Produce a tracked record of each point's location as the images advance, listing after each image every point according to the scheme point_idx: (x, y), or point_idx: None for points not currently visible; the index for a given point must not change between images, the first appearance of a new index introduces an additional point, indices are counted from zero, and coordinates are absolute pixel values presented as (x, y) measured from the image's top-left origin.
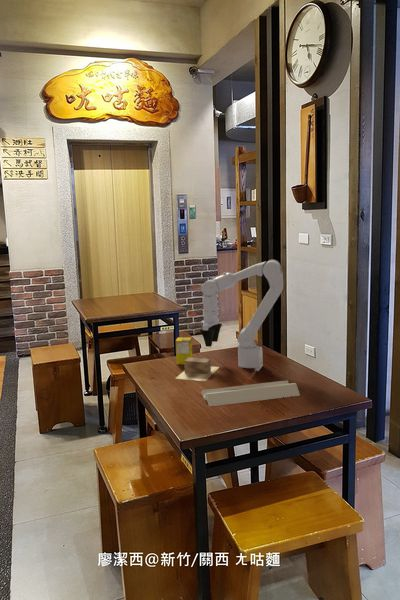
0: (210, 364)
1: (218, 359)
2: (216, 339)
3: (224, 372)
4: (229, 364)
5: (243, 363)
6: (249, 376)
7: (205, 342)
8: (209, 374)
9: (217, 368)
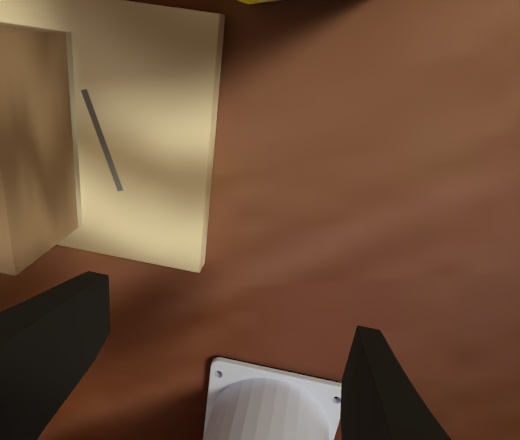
0: (42, 250)
1: (478, 230)
2: (343, 403)
3: (151, 296)
4: (331, 317)
5: (205, 431)
6: (117, 415)
7: (44, 300)
8: None
9: (163, 261)
